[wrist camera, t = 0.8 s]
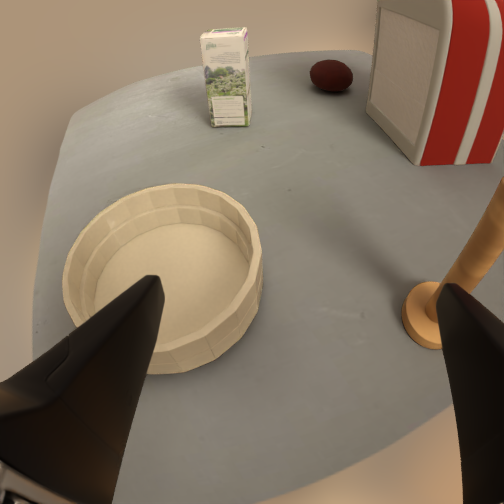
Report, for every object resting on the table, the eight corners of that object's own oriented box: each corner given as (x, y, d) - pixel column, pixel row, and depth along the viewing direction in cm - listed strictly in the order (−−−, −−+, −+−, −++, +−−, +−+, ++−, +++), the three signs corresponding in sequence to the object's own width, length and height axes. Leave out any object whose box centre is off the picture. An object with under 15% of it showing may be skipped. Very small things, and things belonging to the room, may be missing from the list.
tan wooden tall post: (468, 339, 22) (569, 224, 11) (414, 357, 22) (518, 235, 11) (444, 283, 26) (516, 157, 15) (392, 295, 26) (457, 154, 14)
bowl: (276, 364, 23) (278, 338, 19) (79, 378, 22) (46, 355, 18) (249, 211, 33) (246, 172, 29) (102, 233, 32) (84, 199, 28)
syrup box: (252, 110, 48) (247, 25, 36) (249, 128, 44) (243, 33, 33) (217, 111, 48) (207, 28, 37) (210, 129, 44) (198, 36, 33)
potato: (303, 82, 55) (304, 54, 50) (343, 82, 55) (345, 55, 51) (315, 97, 50) (316, 66, 46) (357, 96, 51) (361, 67, 46)
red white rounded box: (363, 109, 47) (375, -42, 26) (440, 111, 49) (463, -16, 27) (414, 167, 37) (453, -31, 16) (494, 163, 38) (538, 13, 17)
